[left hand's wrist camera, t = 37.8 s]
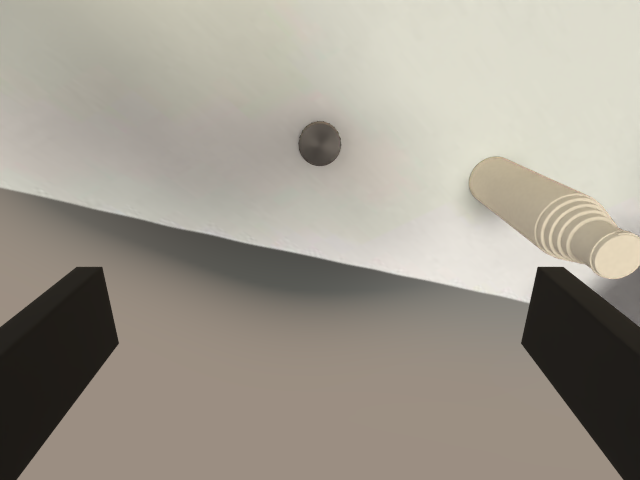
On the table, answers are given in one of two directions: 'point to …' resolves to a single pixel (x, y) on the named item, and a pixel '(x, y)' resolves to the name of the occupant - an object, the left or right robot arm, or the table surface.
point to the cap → (319, 143)
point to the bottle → (555, 217)
